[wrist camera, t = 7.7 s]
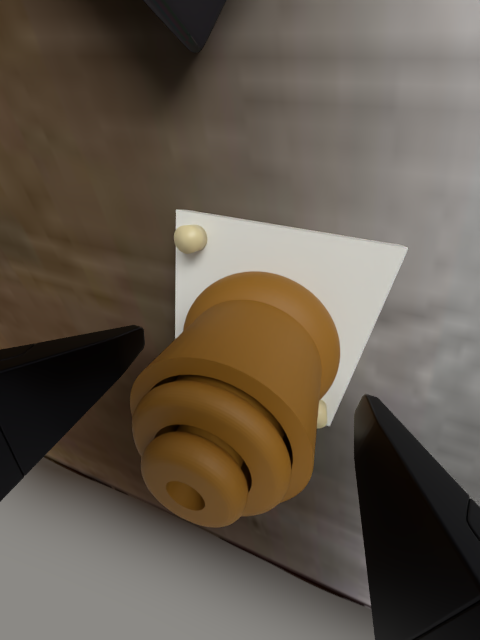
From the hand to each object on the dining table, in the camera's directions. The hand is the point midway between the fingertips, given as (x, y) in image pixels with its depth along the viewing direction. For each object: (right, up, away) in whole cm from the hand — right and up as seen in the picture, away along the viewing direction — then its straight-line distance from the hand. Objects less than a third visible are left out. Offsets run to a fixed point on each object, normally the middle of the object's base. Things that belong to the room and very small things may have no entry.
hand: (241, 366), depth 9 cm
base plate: (+1, +2, +4) cm, 4 cm away
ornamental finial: (+1, +1, +3) cm, 4 cm away
